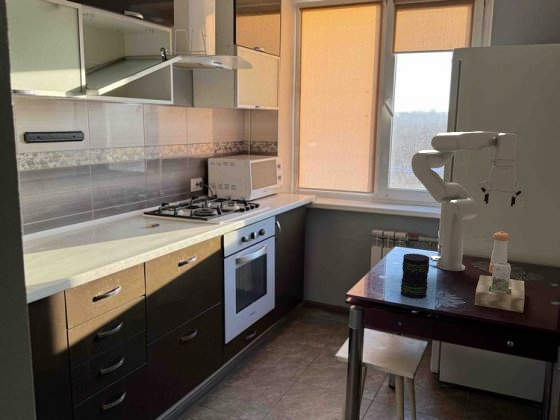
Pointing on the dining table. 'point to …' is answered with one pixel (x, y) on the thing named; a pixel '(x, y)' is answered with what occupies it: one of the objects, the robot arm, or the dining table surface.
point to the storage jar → (415, 276)
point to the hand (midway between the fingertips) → (499, 204)
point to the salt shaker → (499, 249)
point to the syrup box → (500, 277)
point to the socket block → (500, 295)
